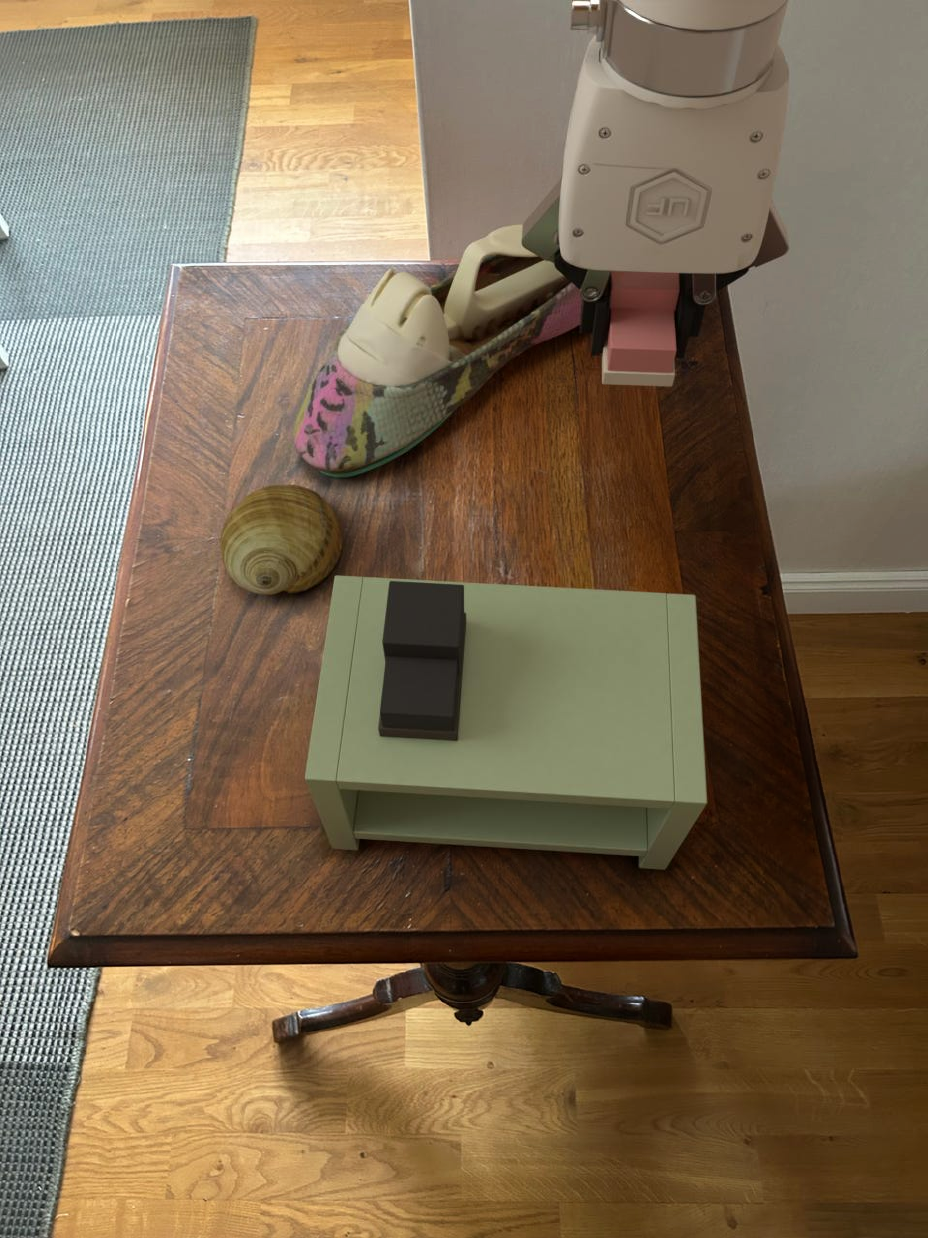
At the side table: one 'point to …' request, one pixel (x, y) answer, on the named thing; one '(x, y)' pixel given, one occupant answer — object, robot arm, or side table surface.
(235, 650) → the side table surface
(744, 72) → the robot arm
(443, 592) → the black stepped block
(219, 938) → the side table surface
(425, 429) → the ballet flat
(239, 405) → the side table surface
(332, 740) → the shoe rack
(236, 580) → the seashell
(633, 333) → the pink stepped block
